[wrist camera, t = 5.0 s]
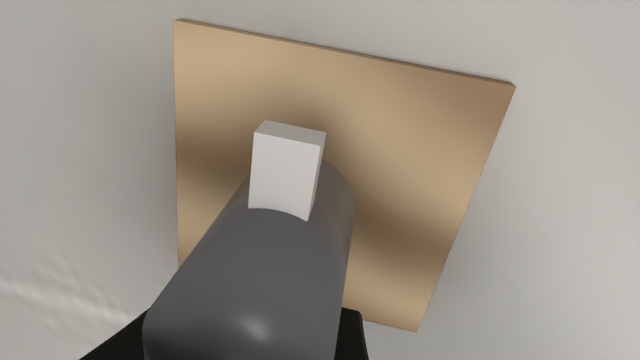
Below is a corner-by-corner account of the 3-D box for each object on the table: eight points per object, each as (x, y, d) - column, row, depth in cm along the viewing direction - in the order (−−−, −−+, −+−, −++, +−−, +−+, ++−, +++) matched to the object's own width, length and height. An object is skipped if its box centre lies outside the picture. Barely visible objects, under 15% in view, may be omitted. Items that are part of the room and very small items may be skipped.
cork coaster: (415, 323, 19) (416, 332, 18) (184, 267, 20) (178, 275, 19) (510, 82, 13) (516, 86, 13) (181, 18, 14) (173, 20, 13)
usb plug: (322, 350, 13) (288, 534, 9) (232, 328, 13) (156, 496, 9) (380, 110, 9) (373, 228, 5) (250, 84, 9) (127, 173, 5)
